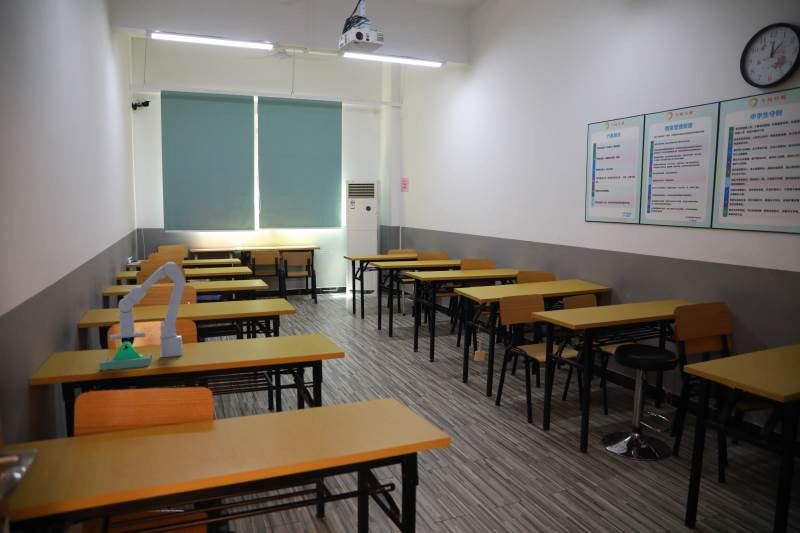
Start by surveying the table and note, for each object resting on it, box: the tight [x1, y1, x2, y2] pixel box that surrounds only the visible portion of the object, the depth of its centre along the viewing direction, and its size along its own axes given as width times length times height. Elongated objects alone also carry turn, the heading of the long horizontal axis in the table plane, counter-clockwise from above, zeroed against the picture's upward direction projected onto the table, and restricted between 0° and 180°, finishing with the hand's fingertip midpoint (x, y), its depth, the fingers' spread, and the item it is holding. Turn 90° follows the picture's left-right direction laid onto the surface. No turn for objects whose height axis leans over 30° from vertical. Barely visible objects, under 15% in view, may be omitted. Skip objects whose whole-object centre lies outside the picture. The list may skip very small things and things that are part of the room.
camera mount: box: [111, 341, 144, 361], centre depth 241 cm, size 12×8×10 cm, turn 109°
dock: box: [99, 352, 153, 371], centre depth 240 cm, size 19×13×4 cm
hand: (129, 353), depth 247 cm, fingers closed
